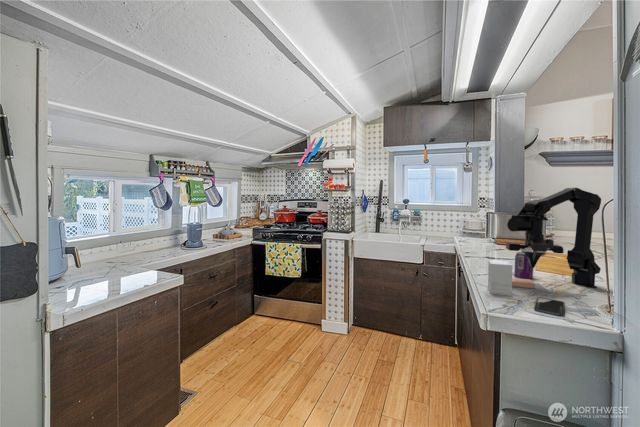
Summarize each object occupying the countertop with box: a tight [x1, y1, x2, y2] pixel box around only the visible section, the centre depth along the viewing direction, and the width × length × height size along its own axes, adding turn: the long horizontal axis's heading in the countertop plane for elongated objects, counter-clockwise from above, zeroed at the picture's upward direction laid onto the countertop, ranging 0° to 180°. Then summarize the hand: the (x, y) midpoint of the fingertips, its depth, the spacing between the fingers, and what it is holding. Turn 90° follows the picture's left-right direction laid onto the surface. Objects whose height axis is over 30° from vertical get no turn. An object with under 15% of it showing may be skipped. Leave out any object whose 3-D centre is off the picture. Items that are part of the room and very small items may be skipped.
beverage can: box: [513, 251, 534, 280], centre depth 134 cm, size 7×7×12 cm
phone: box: [533, 297, 566, 317], centre depth 98 cm, size 8×1×15 cm
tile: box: [512, 277, 536, 288], centre depth 121 cm, size 2×6×10 cm
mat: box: [512, 282, 551, 293], centre depth 120 cm, size 14×12×1 cm
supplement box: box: [487, 259, 513, 297], centre depth 113 cm, size 7×7×13 cm
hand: (532, 267), depth 119 cm, fingers closed
